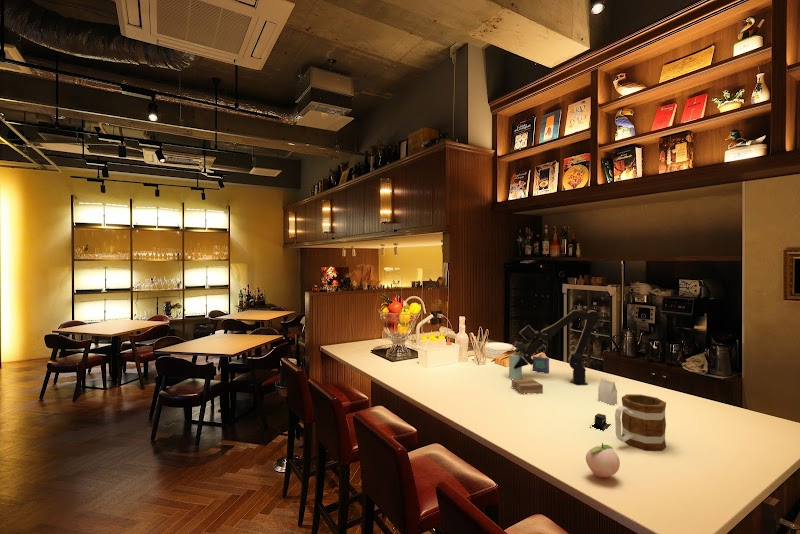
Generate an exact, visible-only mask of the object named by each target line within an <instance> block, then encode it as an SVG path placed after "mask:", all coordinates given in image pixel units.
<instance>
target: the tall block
mask: <svg viewBox="0 0 800 534" xmlns="http://www.w3.org/2000/svg"><path fill="white" fill-rule="evenodd" d="M520 356H521V355H519V354H514V353H512V354H511V353H510V354H508V378H509V379H510V378H511V379H513V380H518V379H523V366H522V367H519V368H517V369H514V366H515V365H516V363H517V362H518V361H519V358H520ZM521 357H522V356H521ZM511 379H510V380H511Z"/></svg>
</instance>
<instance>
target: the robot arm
mask: <svg viewBox="0 0 800 534" xmlns="http://www.w3.org/2000/svg"><path fill="white" fill-rule="evenodd" d="M576 319H580V320H584V327H583V329H582V332H581V335H580V338H579V340H578V342H577V346H576V347H575V350H574V351H570V354H569V357H568V358H567V359H568V364H569V366H570V367H569V368H571V369H572V380H570V381H571V382H570V383H572V384H574V385H577V386H583V385H589V383H588V382H586V371H587V370H586V366H585V365H584V364H583V356H584V352H585V349H586V347H587V345H588V342H589V339H590V336H591V333H592V331H593V329H594V327H595V326H596V325H597V323H598V322H599V320H600V315H599V313H598V312H597V311H596V310H593V309H591V310H586V311H585V310H578V309H572V310H571V311H569V313H568V314H566V315H565V316H563V317H562V318H561V319H559V320H558V321H557V322H555V323H553V324H552V325H549V326H547V327H545V328H543V329H542V330H534V328H532V327H531V325H529V324H528V325H527V326H525V327H524V328H523V329H521V330H520V331H519V334H520V335H521V336H522V338H524V339H525V340H526V341H530V342H529V343H524V342H522V341H521V342H519V341H517V340H515V342H514V344H513V347H514V353H515V354H519V355H521V356H522V357H521V356H520V358H519V361H518V362H517V363H516V365H515V366H514V369H517V368H519V367H522V368H523V367H526V366H529V365H530V366H533V363H534V360H533V356H535V355H536V354H537V352H538V350H539V349H541V348H542V347H545V348H547V347H548V341H550V340H551V339H552V338H554V336H555V335H556V334H557V333H558V332H559V331H560V330H562V329H563V328H564V327H566V326H567V325H569V324H571V322H572V321H574V320H576Z"/></svg>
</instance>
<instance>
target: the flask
mask: <svg viewBox="0 0 800 534" xmlns="http://www.w3.org/2000/svg"><path fill="white" fill-rule="evenodd" d="M532 359H533V360H534V363H533V364H532V372H533V371H537V372H536V373H539V372H544V373H543V374H549V373H550V357H548V356H543V353H539V355H536V354H535V355H533V356H532Z"/></svg>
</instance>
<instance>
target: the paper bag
mask: <svg viewBox="0 0 800 534" xmlns="http://www.w3.org/2000/svg"><path fill="white" fill-rule="evenodd" d="M597 389H598V391H597V393H598V394H597V399H598V400H597V401H598V402H600V401H601V402H600V403H602V402H604V404H605V403H607V404H606V405H608V404H609V406H611V405H612V406H616V405H615V404H617V405H618V389H617V387H616V382H614V381H611V380H607V379H605V378H604V379H603V378H601V379H600V382H599V385H598V388H597Z"/></svg>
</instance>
